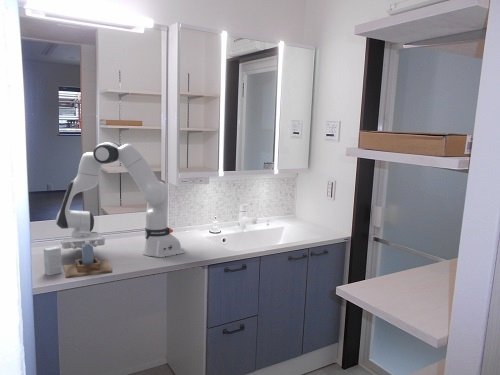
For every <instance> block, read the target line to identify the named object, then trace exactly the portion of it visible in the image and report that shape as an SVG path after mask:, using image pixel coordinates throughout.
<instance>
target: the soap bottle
mask: <svg viewBox="0 0 500 375" xmlns="http://www.w3.org/2000/svg"><path fill="white" fill-rule="evenodd" d="M93 258H94V246H93V245H92V244H90V241H85V244H83V245H82V248H81V259H82V265H84V264H93Z"/></svg>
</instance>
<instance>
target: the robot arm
mask: <svg viewBox="0 0 500 375" xmlns="http://www.w3.org/2000/svg"><path fill="white" fill-rule="evenodd" d="M115 162H119V163H120V164H122V165H123V167H124V168H125V169H126V171H127V172H128V174H129V175H130V176H131V178H132V179H133V181H134V182H135V184H136V185H137V188H138V190H139V191H140V192H141V195H142V196H143V199H145V201H146V203H147V204H146V212H145V230H144V237H145V242H144V243H145V244H144V248H143V255H145V256H147V257H148V256H149V257H156V258H164V257H165V256H166V257H171V256H177V255H180V254H181V255H182V254H185V253H184V252H186V250H185V248H183V247H182V246H181V242H180V239H178V238H177V237H176V236H175V235H173V234H172V233H173V231H174V230H173V228H171V227H168V223H167V221H168V201H169V188H168V186H167V184H165V182H162V181H160V180H159V179H158V178H157V176H156V174H155V172H154V170H153V169H152V167H151V166H150V164H149V163H148V161H147V160H146V158H144V155H142V154H141V152H140V151H139V150H138V149H137V148H136V147H135V146H134V145H133V144H131V143H125V144H123V145H121V146H120V145H119V144H118V143H115V142H112V141H110V142H109V141H107V142H106V141H105V142H101V143H99V144H97V145H96V146H95V148H94V149H93V151H88V152H84V153H83V154H82V156H81V159H80V161H79V165H78V169H77V174H76V176H75V178H74V179H73V180H71V181H70V182H69V183H68V185H67V187H66V191H65V193H64V196H63V200H62V203H61V204H60V205H61V206H60V207H59V210H58V212H57V215H56V218H55V223H56V224H55V225H57V227H59V228H60V229H72V230H71V237H69V238H68V237H65V238H63V239H62V240H61V241H60V244H61V245H62V246H61V247H62V249H63V250H65V249H73V250H75V249H77V248H79V249H82V245H83V244H85V241H90V244H92V245H93V248H96V247H99V246H104V245H105V244H106V243H105V242H106V241H105V237H104V236H103V235H102V234H100V232H99V231H93V230H94V226H95V217H94V215H93V213H92V212H91V211H89V210H87V211H86V210H71V209H70V207H71V204H72V201H73V198H74V196H75V195H77V194H79V193H82V192H85V191H88V190H91V189H94V188H96V187H97V185H98V184H99V181H100V177H101V171H102V166H103V165H105V164H112V163H115ZM176 254H177V255H176Z"/></svg>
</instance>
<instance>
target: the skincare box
mask: <svg viewBox="0 0 500 375" xmlns="http://www.w3.org/2000/svg"><path fill="white" fill-rule="evenodd" d="M43 263H44V275H47V276H48V277H49V276H50V277H51V276H53V275H57V274H60V273H61V274H62V254H61V247H59V246H55V245H54V246H51V247H47V248H43Z"/></svg>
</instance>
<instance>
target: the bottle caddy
mask: <svg viewBox="0 0 500 375" xmlns="http://www.w3.org/2000/svg"><path fill="white" fill-rule="evenodd" d="M63 270H64V274H65V278H66V279H69V278H76V277H84V276H92V275H100V274H109V272H110V273H113V269H112V266H111V265H110V263H109V261H108V260H99V258H98V257H93V264H84V265H82V258H81V259H75V263H72V264H64V265H63Z"/></svg>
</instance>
